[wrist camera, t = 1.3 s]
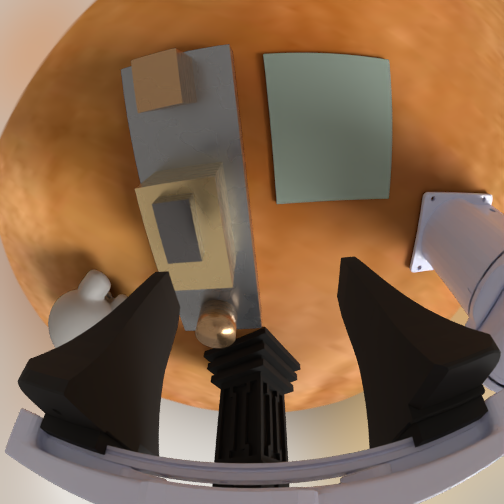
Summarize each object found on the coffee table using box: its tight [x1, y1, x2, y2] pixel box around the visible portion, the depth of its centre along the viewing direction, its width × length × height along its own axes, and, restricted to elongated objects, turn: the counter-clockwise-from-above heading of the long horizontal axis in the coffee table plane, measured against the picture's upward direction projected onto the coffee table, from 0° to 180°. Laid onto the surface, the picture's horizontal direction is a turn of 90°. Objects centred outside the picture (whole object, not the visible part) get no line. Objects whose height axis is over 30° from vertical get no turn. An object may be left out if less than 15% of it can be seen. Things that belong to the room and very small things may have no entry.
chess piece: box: [204, 327, 300, 488], centre depth 22 cm, size 8×8×20 cm
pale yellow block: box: [135, 162, 236, 291], centre depth 16 cm, size 7×4×4 cm, turn 6°
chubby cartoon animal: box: [48, 270, 127, 348], centre depth 23 cm, size 7×12×8 cm, turn 123°
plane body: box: [121, 44, 262, 348], centre depth 18 cm, size 22×7×6 cm, turn 6°
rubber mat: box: [263, 53, 392, 204], centre depth 17 cm, size 9×11×1 cm
